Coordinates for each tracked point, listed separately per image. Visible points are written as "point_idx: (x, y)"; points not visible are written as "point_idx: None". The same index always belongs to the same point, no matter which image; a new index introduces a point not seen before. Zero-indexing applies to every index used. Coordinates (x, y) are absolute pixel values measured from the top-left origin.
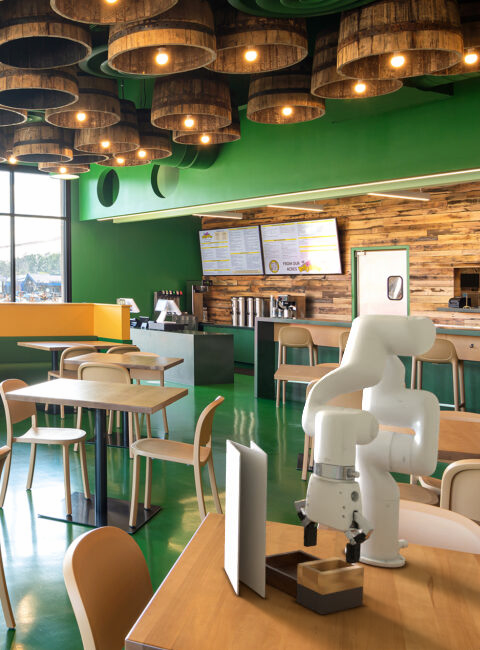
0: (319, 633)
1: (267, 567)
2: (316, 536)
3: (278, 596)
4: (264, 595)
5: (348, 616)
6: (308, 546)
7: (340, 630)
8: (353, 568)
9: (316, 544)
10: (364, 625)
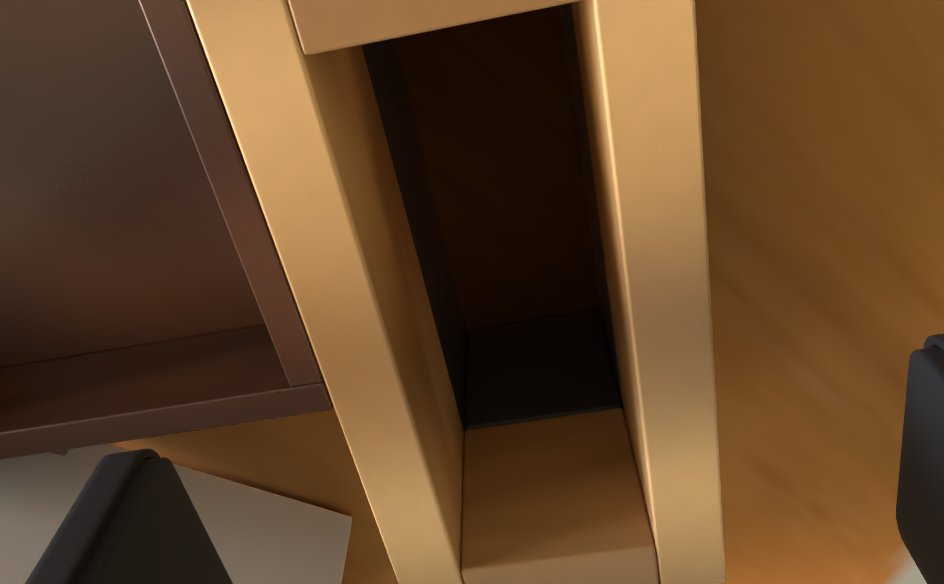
0: (836, 500)
1: (33, 450)
2: (104, 582)
3: (330, 422)
4: (348, 526)
5: (729, 164)
6: (228, 580)
7: (865, 371)
8: (685, 122)
9: (161, 464)
10: (890, 156)
